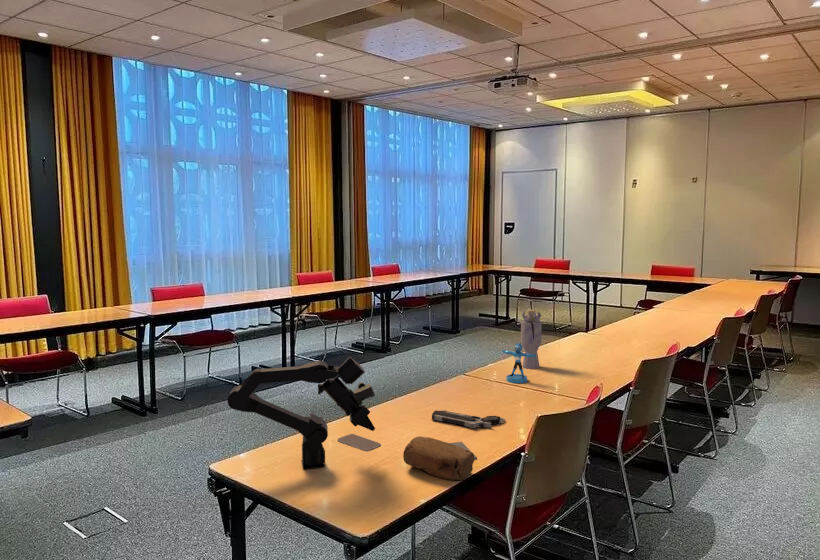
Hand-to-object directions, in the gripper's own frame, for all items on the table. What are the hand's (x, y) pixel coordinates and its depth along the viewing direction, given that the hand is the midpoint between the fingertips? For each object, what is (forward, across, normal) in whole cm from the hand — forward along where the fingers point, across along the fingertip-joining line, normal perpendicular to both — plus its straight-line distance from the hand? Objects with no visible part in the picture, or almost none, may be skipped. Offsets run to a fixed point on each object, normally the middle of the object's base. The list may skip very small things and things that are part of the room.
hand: (374, 429), depth 184 cm
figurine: (+55, +76, -61) cm, 112 cm away
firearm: (+32, +29, -26) cm, 51 cm away
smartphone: (+5, +18, +8) cm, 20 cm away
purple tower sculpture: (+64, +100, -76) cm, 141 cm away
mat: (+22, +1, -10) cm, 24 cm away
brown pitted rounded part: (+12, -4, -4) cm, 13 cm away
